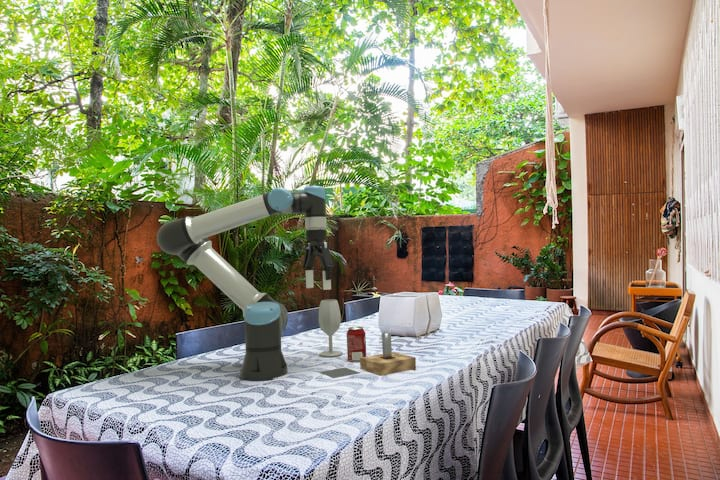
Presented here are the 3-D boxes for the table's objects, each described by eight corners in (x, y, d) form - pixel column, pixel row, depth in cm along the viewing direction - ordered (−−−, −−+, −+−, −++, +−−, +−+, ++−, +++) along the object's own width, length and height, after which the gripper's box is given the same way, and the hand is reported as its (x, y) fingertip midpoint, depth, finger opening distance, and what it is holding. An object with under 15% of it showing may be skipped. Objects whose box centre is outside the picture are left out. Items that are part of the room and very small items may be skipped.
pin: (386, 371, 164) (385, 334, 165) (381, 369, 167) (380, 333, 167) (394, 370, 166) (392, 333, 166) (389, 368, 168) (387, 332, 169)
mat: (333, 379, 157) (333, 378, 157) (318, 373, 165) (318, 372, 165) (360, 374, 162) (360, 372, 162) (345, 368, 171) (345, 367, 171)
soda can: (364, 363, 177) (363, 329, 178) (345, 363, 179) (344, 329, 179) (368, 359, 184) (366, 326, 184) (350, 359, 185) (348, 326, 185)
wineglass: (332, 358, 188) (330, 302, 188) (315, 356, 193) (312, 301, 193) (346, 353, 195) (344, 299, 195) (329, 351, 200) (327, 299, 200)
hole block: (380, 376, 158) (380, 364, 158) (360, 369, 168) (360, 357, 168) (415, 369, 165) (415, 357, 165) (394, 363, 175) (394, 351, 175)
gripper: (342, 227, 172) (344, 289, 171) (310, 231, 193) (312, 286, 192) (322, 227, 168) (325, 291, 167) (292, 231, 189) (294, 287, 188)
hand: (318, 288), depth 180 cm, fingers open, 13 cm apart
